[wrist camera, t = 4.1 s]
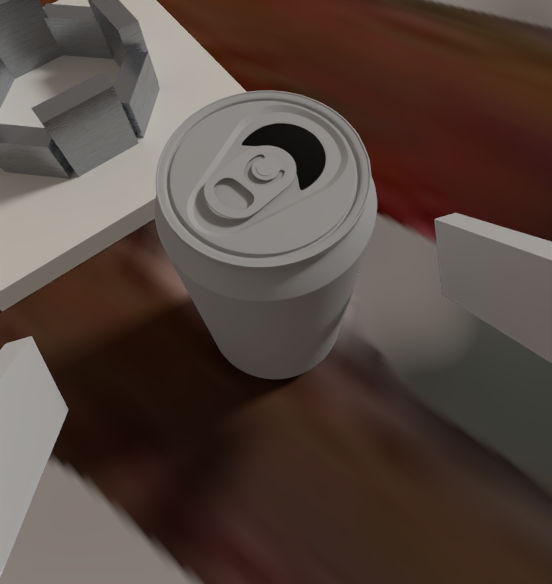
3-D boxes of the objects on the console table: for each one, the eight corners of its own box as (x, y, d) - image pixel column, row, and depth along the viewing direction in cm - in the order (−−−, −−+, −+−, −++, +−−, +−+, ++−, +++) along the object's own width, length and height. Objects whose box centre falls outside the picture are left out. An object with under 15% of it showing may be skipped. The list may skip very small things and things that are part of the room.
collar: (103, 21, 29) (77, -45, 26) (187, 115, 26) (170, 55, 22) (-47, 94, 27) (-100, 34, 24) (23, 208, 24) (-25, 158, 20)
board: (132, -10, 33) (125, -31, 31) (278, 142, 27) (278, 124, 26) (-108, 105, 29) (-128, 86, 28) (2, 311, 23) (-16, 300, 22)
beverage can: (364, 317, 23) (438, 160, 11) (277, 412, 21) (264, 333, 10) (274, 242, 24) (261, 43, 13) (186, 323, 23) (89, 173, 12)
